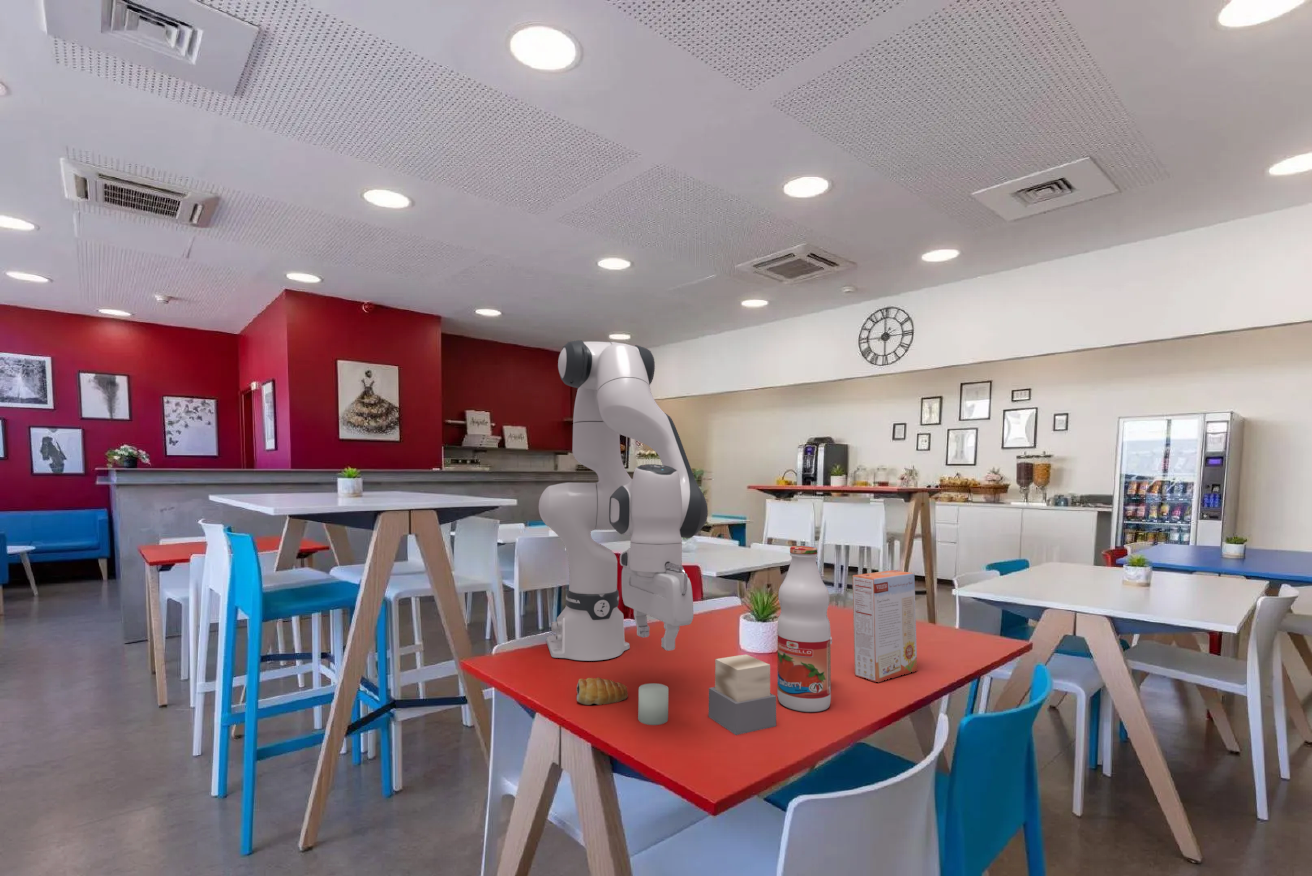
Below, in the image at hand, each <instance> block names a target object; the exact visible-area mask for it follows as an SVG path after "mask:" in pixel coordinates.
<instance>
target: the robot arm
mask: <svg viewBox="0 0 1312 876" xmlns="http://www.w3.org/2000/svg"><path fill="white" fill-rule="evenodd" d="M557 362H558V363H557V369H558V373H559V377H560V379H561V381H562V382H563V383H564V385H566V386H569V387H572V388H576V389H577V390H576V391H577V392H576V396H575V401H574V407H573V416H572V417H573V418H572V419H573V421H572V423H573V424H572V456H573V458H574V459H575V460H576V461H577V463H579V464H581V465H582V466H583V467H585V468H588V469H590V470H592V471H593V472H595V474H596V475H597V477H598V481H597V482H562V483H557V484H551V485H548V486H547V487H546V488H545V489H544V490H543V492H542V493H541V495H540V497H539V501H538V513H539V516H540V518H541V520H542V522H543V523H544V524H545V525H546V526H547V527H548V528H549V529H551V530H552V531H553V532H554V534H556V535H557V536H558V538H559V539H560V541H561V543H562V544H563V545H564V548H565V551H566V555H567V561H568V579H569V581H568V583H569V584H568V590H567V592H566V595H565V608H564V609H563V610H561V613H560V614H559V615H558V616H557V617H556V621H551V626H550V629H551V632H552V633H555V634H552V635H549V636H546V644H547V647H548V650H549V654H550V656H551V657H552V658H555V659H556V658H557V659H558V658H559V659H569V660H574V661H586V662H587V661H589V662H590V661H591V662H592V661H593V662H594V661H595V662H596V661H603V660H609V659H614V658H616V657H619V656H621V655H622V654H623V653H624V651H627V650H629V649H630V648H631V647H630V643H629V642H627V641H626V640H625V622H624V620H625V619H624V613H623V612H622V611H621V610H620V609H619V608H618V606H619V600H620V595H619V590H618V558H617V556H616V554H615V553H614V552H613V551H612V550H611V549H610V548H609V547H607V546H605V545H603V544H601V543H599V542H597V541H595V540H594V539H593V537H592V532H593V531H596V530H597V531H598V530H600V531H603V530H604V531H608V530H609V531H610V530H613V531H616V532H617V534H618V533H619V534H620V535H624V536H628V537H630V545H629V547H628V549H627V550H625V551H623V552H622V553H620V555H619V564H620V566H622V570H621V597H622V600H623V601H622V602H623V604H624V606H625V607H628V608H631V609H632V610H633V616H634V622H635V625H636V635H637V636H638V637H640V638H648V637H649V636H650V625H648V619H647V616H649V617H652V618H654V619H655V620H657V621H661V622H663V628H664V630H665V631H664V634H663V637H661V640H660V641H661V645H660V646H661V648H662V649H663V650H665V651H666V652H667V651H668V652H669V651H675V649H676V638H677V636H678V634H679V631H680V627H683V626H689V625H691V624H692V622H693V619H694V615H695V614H694V599H693V588H692V587H693V586H692V582H691V580H690V577H688V573H686V571H685V569H684V567H683V564H682V563H683V558H682V557H683V556H682V555H683V553H682V552H683V539H691V538H692V537H694V536H696V534H697V533H699V532H700V531H701V530H702V528H703V527H704V526H705V524H706V523H707V521H708V514H709V513H708V512H709V510H708V503H707V500H706V497H705V495H704V493H703V491H702V490H701V488H700V486H699V484H698V483H697V481H696V478H695V476H694V473H693V470H692V467H691V465H690V462H689V459H688V456H687V455H686V451H685V449H684V448H685V447H684V445H683V443H682V440H681V437H680V435H679V431H678V430H677V428H676V425H675V423H674V420H673V419H672V417H671V416H670V415H669V414H667V413H666V412H664V411H663V410H662V409H661V407H660V406H659V404H658V403H657V402H656V400H655V398H654V396H653V394H652V391H651V384H652V382H653V380H654V375H655V372H656V371H655V369H656V366H655V363H656V362H655V357H654V355H653V353H652V351H651V350H650V349H648V348H646V347H644V346H641V345H637V344H635V345H631V344H628V343H623V342H616V341H583V340H581V339H579V340H578V339H577V340H572V341H571V340H570V341H567V343H565V344H564V345H563V346H562V349H561V351H560V353H559V355H558V360H557ZM621 435H622V436H624V437H626V438H629V439H632V440H635V441H638V442H639V443H642V444H644V445H645V446H647V447H649V448H650V449H653V451H655V453H656V454H657V455H658V457H659V460H660V462H661V464H653V463H652V464H650V463H649V464H641V465H638V466H636V467H635V468H634V472H633V476H632V478H631V476H630V475H629V473H628V472H627V470H626V468H625V465H624V463H623V459H622V454H621V440H620V438H621V437H620V436H621ZM682 538H683V539H682Z"/></svg>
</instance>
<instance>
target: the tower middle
mask: <svg viewBox="0 0 1312 876" xmlns="http://www.w3.org/2000/svg"><path fill="white" fill-rule="evenodd" d="M714 661H715V662H714V664H715V666H714V667H715V668H714V670H715V671H714V687H715V690H717V691H719V692H721V693H723V694H724V695H726V696H728V697H730V698H731V699H733V700H735V701H737V702H741V701H746V700H751V699H756V698H761V697H766V696H770V693H771V664H770V663H766V662H765V661H763V660H760V659H758V658H756V657H754V656H751V655H749V654H739V655H734V656H727V657H726V656H725V657H721V658H715V659H714Z"/></svg>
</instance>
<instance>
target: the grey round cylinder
mask: <svg viewBox="0 0 1312 876" xmlns="http://www.w3.org/2000/svg"><path fill="white" fill-rule="evenodd" d="M637 704H638V706H637V707H638V710H637V712H638V713H637V714H638V715H637V716H638V717H637V719H638V721H639V722H640V723H641V724H644V725H646V726H647V725H648V726H658V725H660V726H661V725H663V724H665V723H667V722H668V721H669V687H668V686H667V685H665V684H662V683H652V682H651V683H644V684H641V685H640V686H639V687H638V703H637Z"/></svg>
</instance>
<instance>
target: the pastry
mask: <svg viewBox="0 0 1312 876" xmlns="http://www.w3.org/2000/svg"><path fill="white" fill-rule="evenodd" d="M576 693H577V695H576V701H577V702H578V703H579V704H581V705H584V706H591V705H593V704H595V705H599V706H602V704H603V705H607V704H608V705H609V704H615V703H618V702H619V703H620V702H621V701H623V700H626V699H627V698H628V695H629V694H628V687H627V685H625V684H623V683H622V682H618V681H617V682H616V681H614V680H611V679H608V678H606V679H605V678H601V677H596V678H594V677H587V678H586V679H585V678H579V679H578V682H577V685H576Z"/></svg>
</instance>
